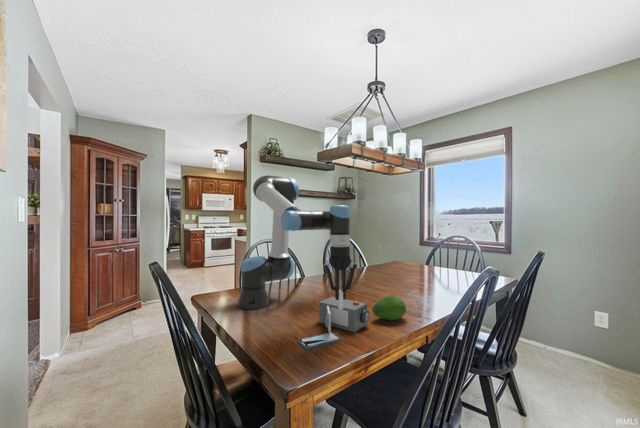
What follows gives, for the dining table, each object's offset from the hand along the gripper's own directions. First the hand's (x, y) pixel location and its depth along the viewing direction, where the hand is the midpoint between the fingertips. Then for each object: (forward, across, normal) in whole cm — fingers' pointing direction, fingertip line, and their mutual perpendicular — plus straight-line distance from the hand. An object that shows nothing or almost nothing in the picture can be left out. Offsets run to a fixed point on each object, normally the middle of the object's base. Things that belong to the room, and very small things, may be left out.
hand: (340, 308), depth 106 cm
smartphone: (+10, -8, -5) cm, 14 cm away
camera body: (+9, +3, +10) cm, 14 cm away
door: (+9, -4, +3) cm, 10 cm away
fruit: (+10, +24, +11) cm, 28 cm away
